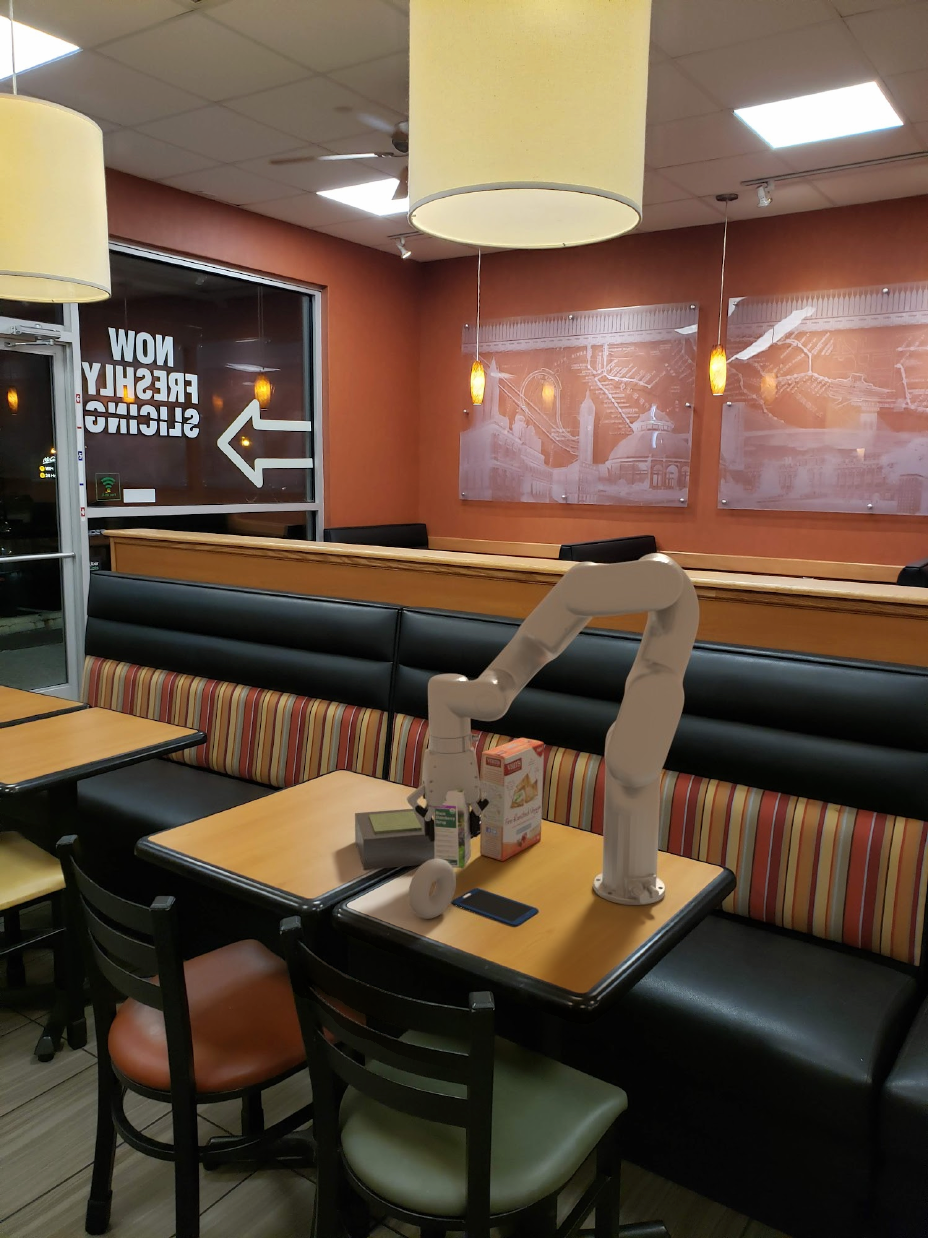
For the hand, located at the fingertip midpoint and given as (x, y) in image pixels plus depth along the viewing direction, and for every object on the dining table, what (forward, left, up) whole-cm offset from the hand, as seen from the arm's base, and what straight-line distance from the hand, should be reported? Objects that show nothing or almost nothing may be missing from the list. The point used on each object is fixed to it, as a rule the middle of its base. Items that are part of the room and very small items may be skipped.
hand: (452, 836), depth 166 cm
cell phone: (-14, -4, -8) cm, 17 cm away
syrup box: (0, 0, -5) cm, 5 cm away
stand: (+13, +9, -8) cm, 18 cm away
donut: (-15, +7, -8) cm, 18 cm away
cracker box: (+10, -14, -8) cm, 19 cm away
